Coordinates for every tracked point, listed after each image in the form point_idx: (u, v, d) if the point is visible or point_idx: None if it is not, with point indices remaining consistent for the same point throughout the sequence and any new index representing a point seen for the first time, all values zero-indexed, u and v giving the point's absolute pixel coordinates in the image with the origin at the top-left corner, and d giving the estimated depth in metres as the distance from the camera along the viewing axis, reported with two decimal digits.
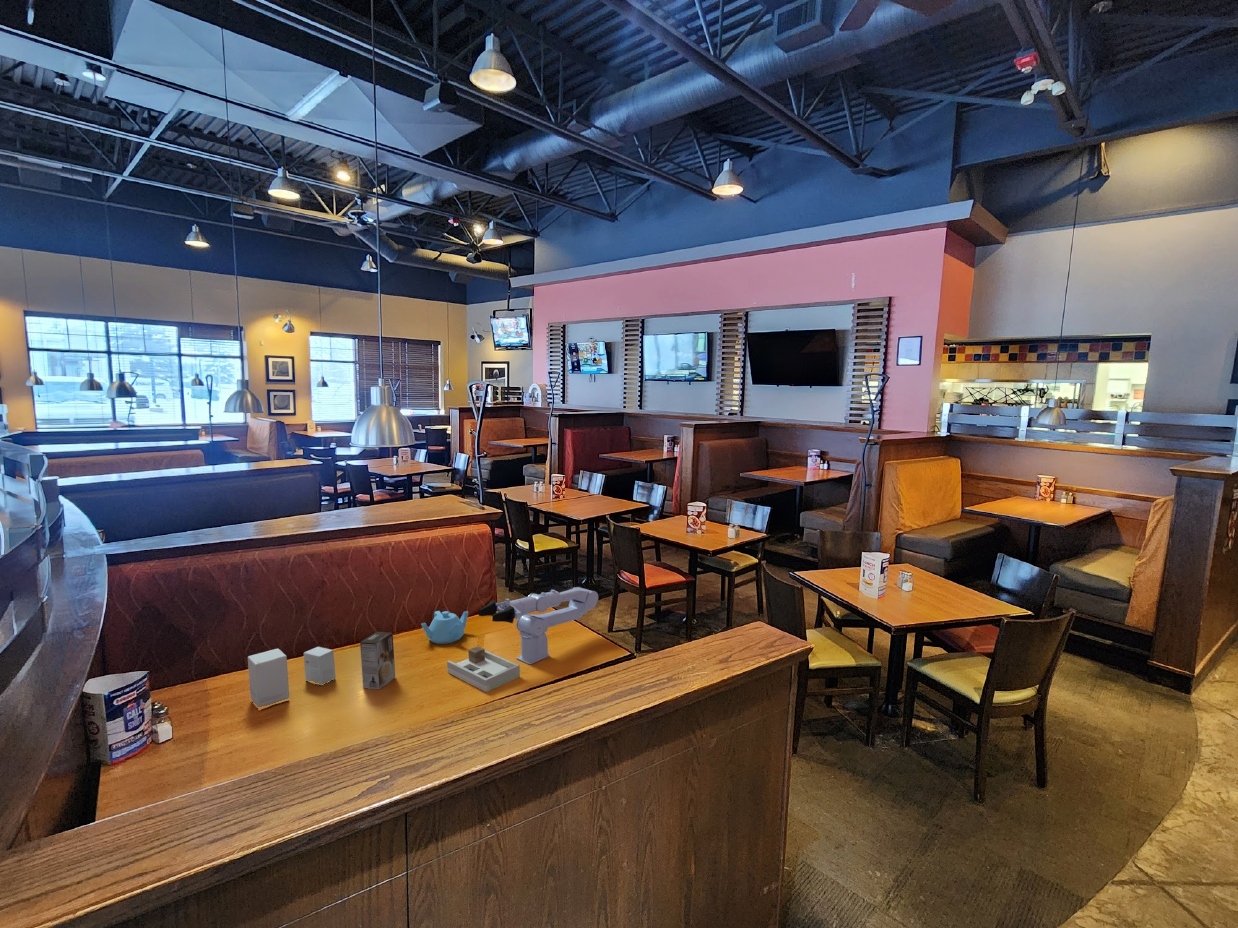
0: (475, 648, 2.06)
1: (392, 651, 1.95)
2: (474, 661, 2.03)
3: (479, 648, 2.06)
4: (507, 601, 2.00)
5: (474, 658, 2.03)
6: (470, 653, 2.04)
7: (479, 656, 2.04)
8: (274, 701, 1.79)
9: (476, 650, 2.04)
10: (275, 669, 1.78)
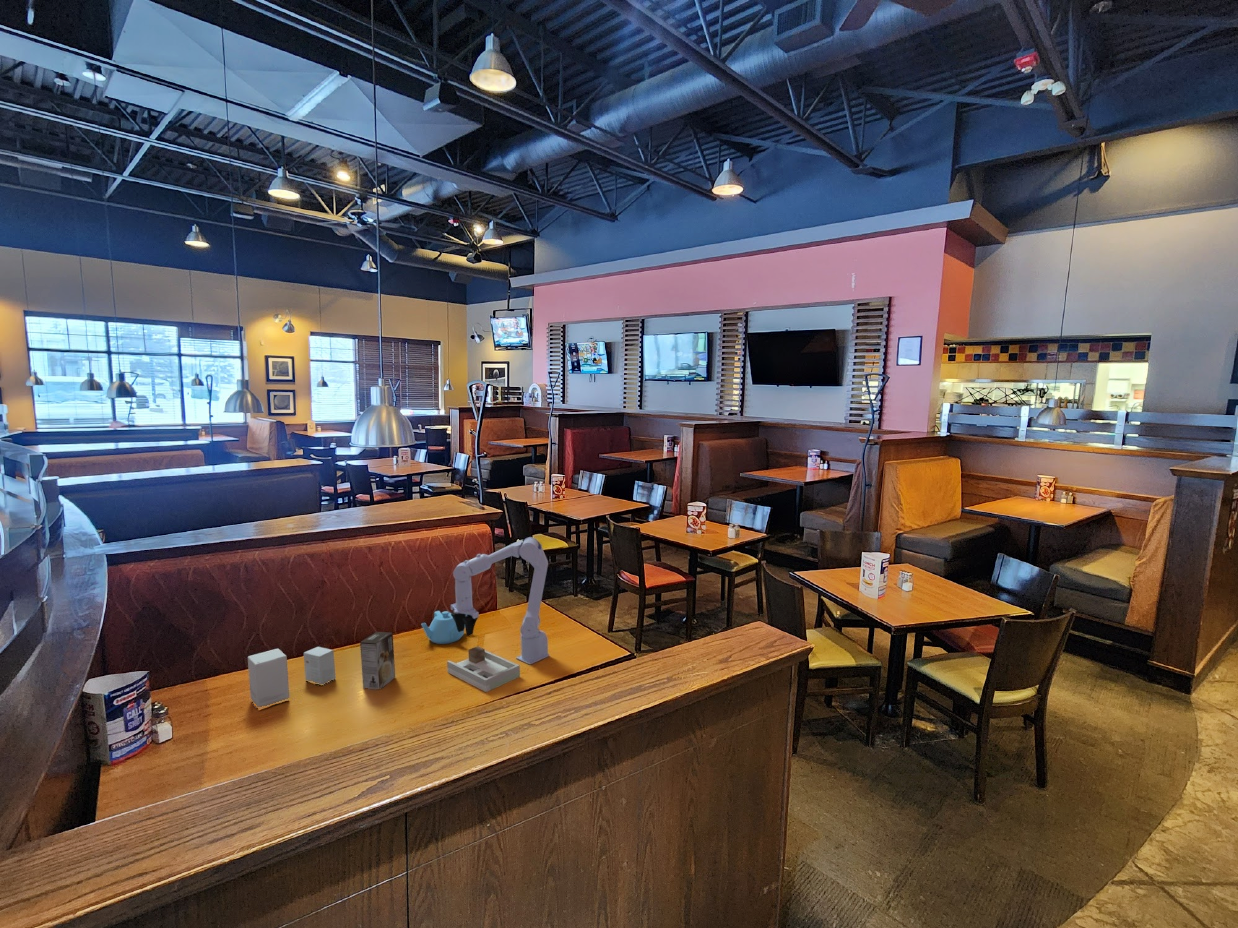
0: (475, 648, 2.06)
1: (392, 651, 1.95)
2: (474, 661, 2.03)
3: (479, 648, 2.06)
4: None
5: (474, 658, 2.03)
6: (470, 653, 2.04)
7: (479, 656, 2.04)
8: (274, 701, 1.79)
9: (476, 650, 2.04)
10: (275, 669, 1.78)
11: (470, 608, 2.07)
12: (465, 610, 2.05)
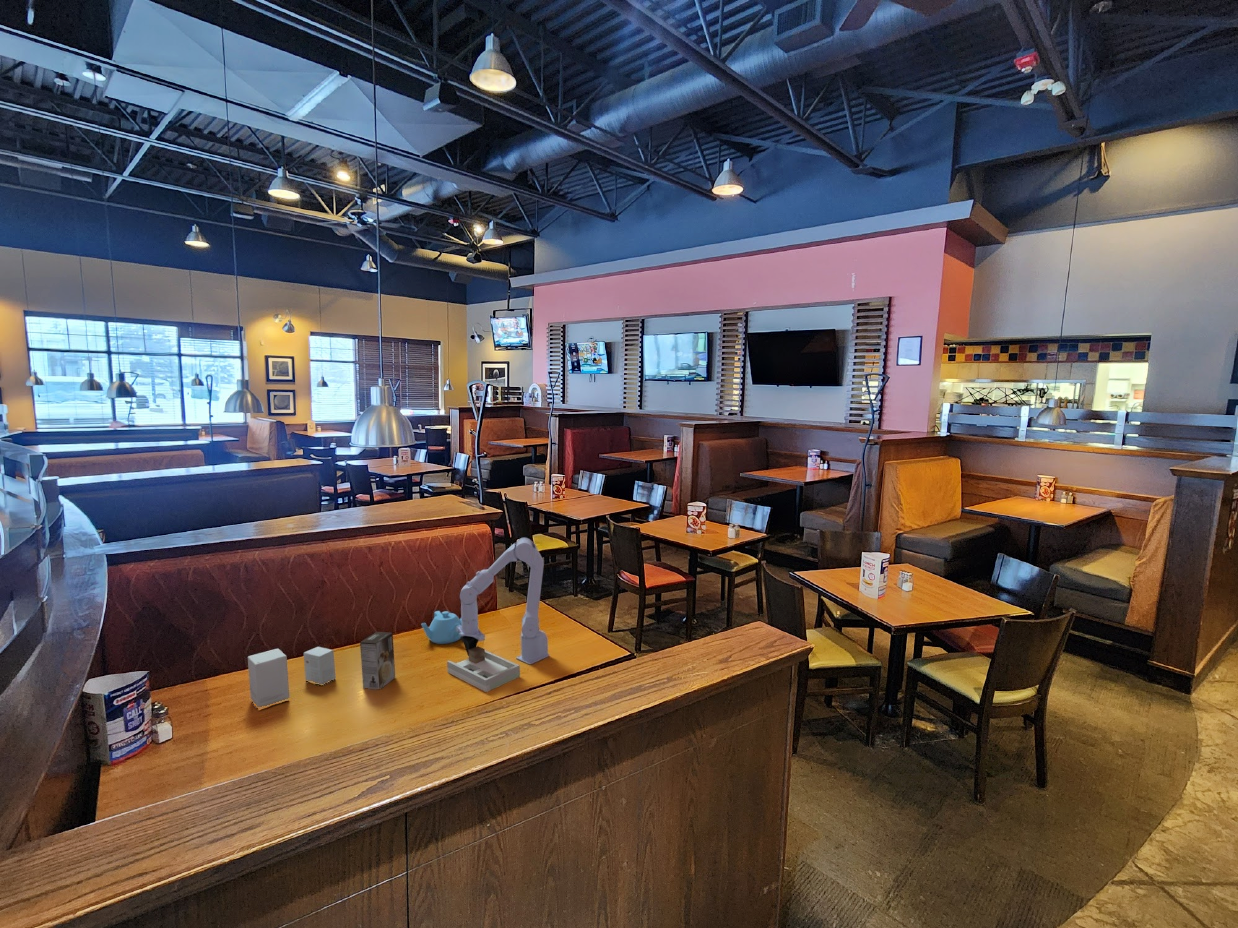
0: (475, 648, 2.06)
1: (392, 651, 1.95)
2: (474, 661, 2.03)
3: (479, 648, 2.06)
4: None
5: (474, 658, 2.03)
6: (470, 653, 2.04)
7: (479, 656, 2.04)
8: (274, 701, 1.79)
9: (477, 650, 2.04)
10: (275, 669, 1.78)
11: (476, 630, 2.05)
12: (471, 632, 2.04)
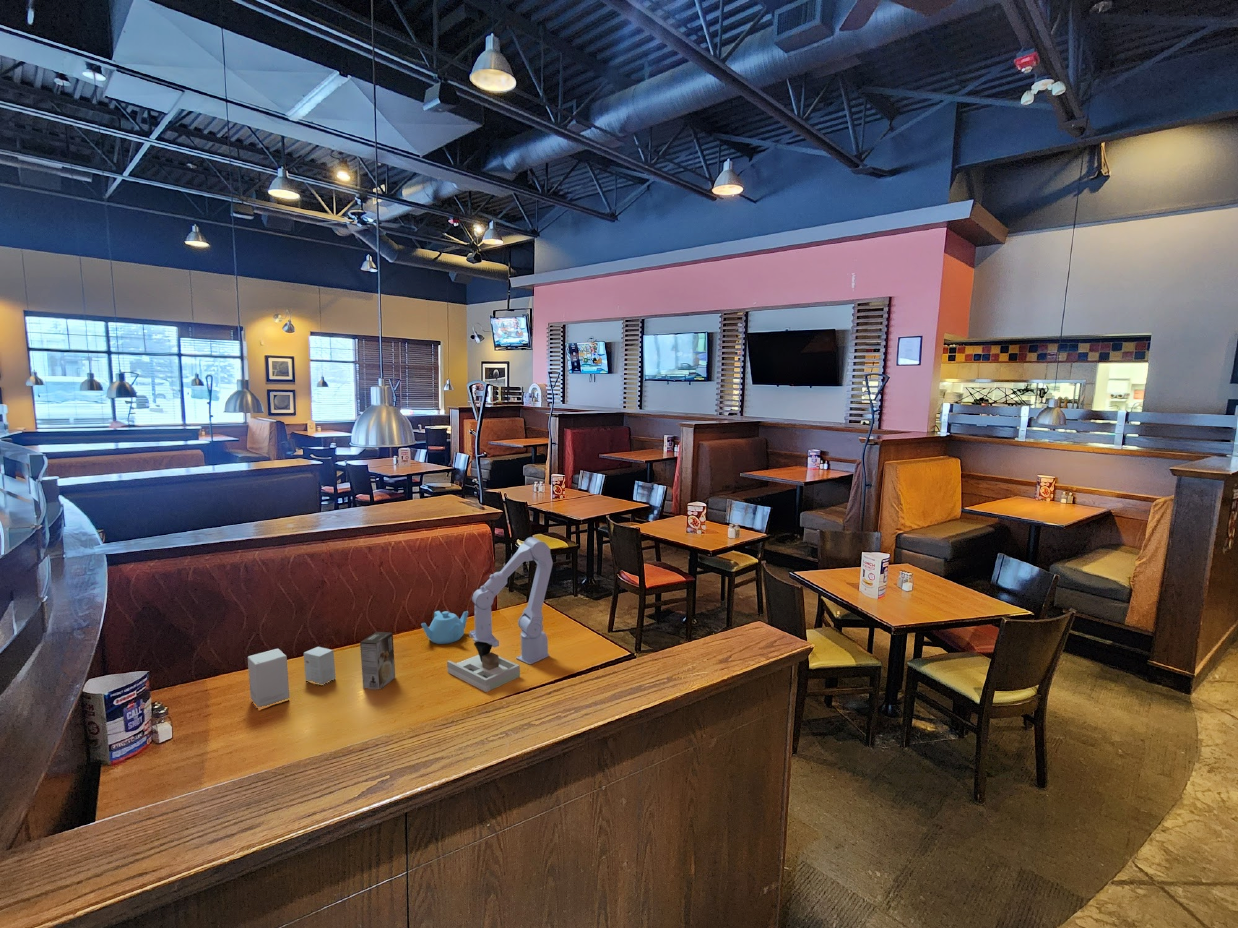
0: (489, 654, 2.00)
1: (392, 651, 1.95)
2: (488, 668, 1.98)
3: (493, 654, 2.00)
4: None
5: (488, 665, 1.97)
6: (484, 659, 1.99)
7: (493, 662, 1.98)
8: (274, 701, 1.79)
9: (490, 656, 1.99)
10: (275, 669, 1.78)
11: (490, 636, 2.00)
12: (485, 638, 1.99)
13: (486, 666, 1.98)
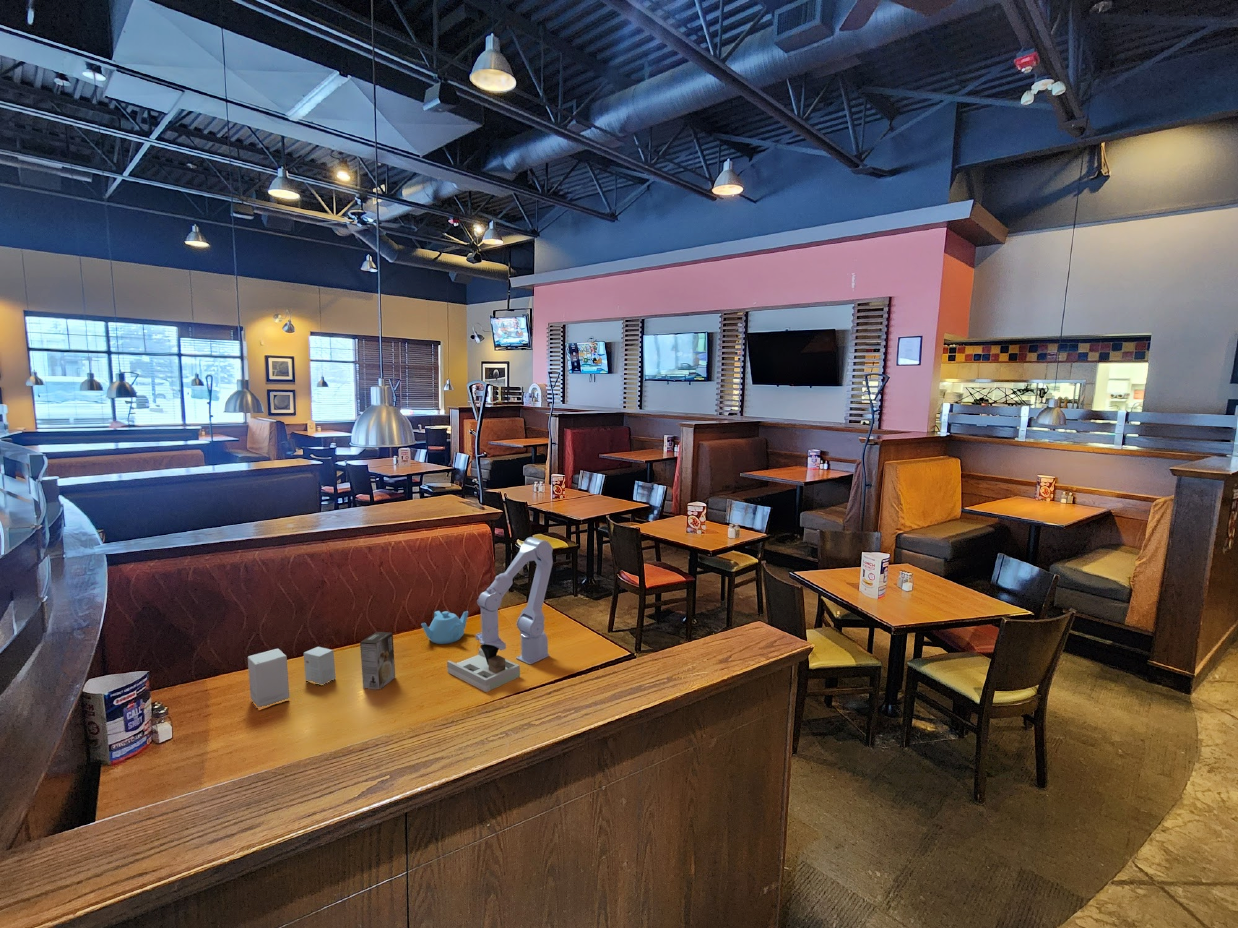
0: (495, 657, 1.98)
1: (392, 651, 1.95)
2: (494, 671, 1.95)
3: (499, 657, 1.98)
4: None
5: (494, 668, 1.95)
6: (490, 662, 1.96)
7: (499, 665, 1.96)
8: (274, 701, 1.79)
9: (497, 659, 1.97)
10: (275, 669, 1.78)
11: (496, 639, 1.98)
12: (491, 641, 1.96)
13: (493, 669, 1.96)
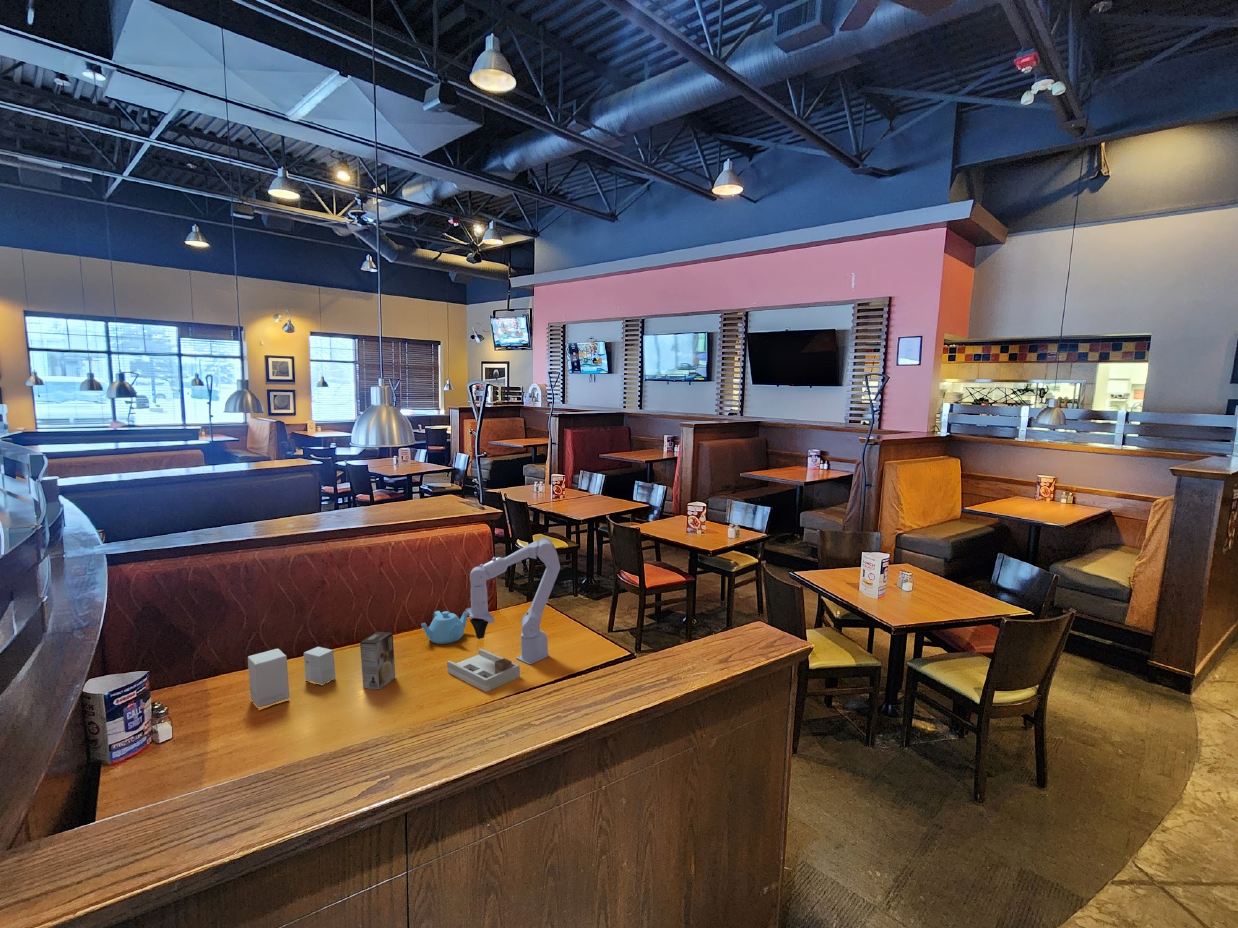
0: (502, 660, 1.96)
1: (392, 651, 1.95)
2: None
3: (506, 660, 1.96)
4: None
5: (501, 671, 1.93)
6: (496, 666, 1.94)
7: (506, 668, 1.93)
8: (274, 701, 1.79)
9: (503, 662, 1.94)
10: (275, 669, 1.78)
11: (485, 613, 2.04)
12: (481, 615, 2.03)
13: (499, 672, 1.93)
